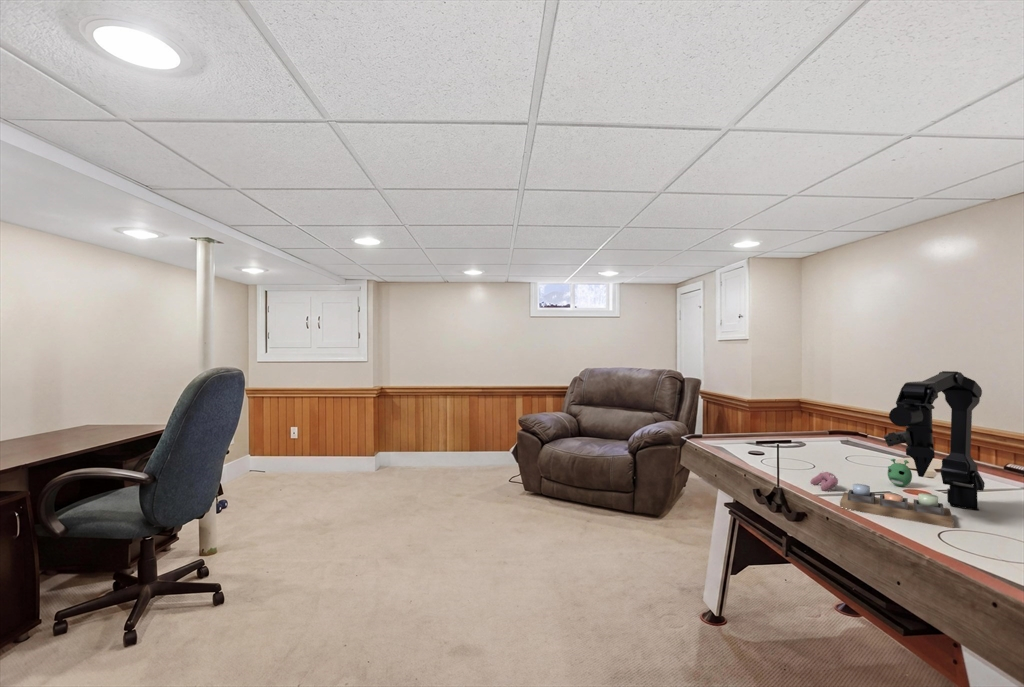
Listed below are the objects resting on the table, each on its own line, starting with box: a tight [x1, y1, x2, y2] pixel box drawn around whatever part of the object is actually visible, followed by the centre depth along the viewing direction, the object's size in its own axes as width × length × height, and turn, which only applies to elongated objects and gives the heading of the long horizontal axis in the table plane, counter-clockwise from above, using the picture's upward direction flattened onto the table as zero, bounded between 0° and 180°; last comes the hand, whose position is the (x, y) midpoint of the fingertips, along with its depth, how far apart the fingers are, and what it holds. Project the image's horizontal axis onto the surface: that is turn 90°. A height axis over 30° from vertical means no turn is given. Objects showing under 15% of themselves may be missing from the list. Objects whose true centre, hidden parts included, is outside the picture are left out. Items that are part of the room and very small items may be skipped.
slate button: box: [852, 483, 871, 497], centre depth 150 cm, size 4×4×3 cm
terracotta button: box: [883, 492, 904, 502], centre depth 145 cm, size 4×4×3 cm
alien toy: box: [887, 458, 913, 487], centre depth 174 cm, size 7×8×10 cm
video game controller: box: [810, 471, 839, 492], centre depth 170 cm, size 10×5×7 cm, turn 169°
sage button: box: [917, 492, 939, 507], centre depth 139 cm, size 4×4×3 cm
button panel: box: [839, 489, 954, 529], centre depth 145 cm, size 26×14×4 cm, turn 50°
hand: (920, 476), depth 141 cm, fingers closed
